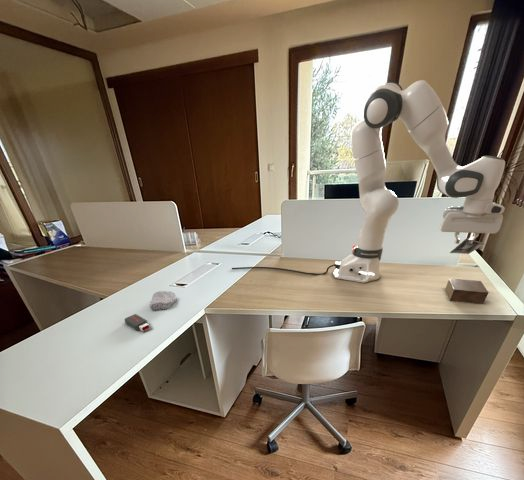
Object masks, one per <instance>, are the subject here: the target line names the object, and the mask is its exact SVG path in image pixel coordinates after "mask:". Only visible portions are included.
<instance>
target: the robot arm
mask: <svg viewBox="0 0 524 480" xmlns="http://www.w3.org/2000/svg"><path fill="white" fill-rule="evenodd" d="M398 120H400V121H402V123H403V124H404V126H405V128H406V129H407V132H408V133H409V135H410V137H411V138H412V140H413V141H414V142H415V144H416V145H417V146H418V147H419V148H420V149H421V150H422V151H423V152H424V153H425V155H426V156H427V157H428V160H429V162H430V163H431V165H432V167H433V169H434V170H435V173H436V188H437V190H438V192H439V193H440V194H442V195H446V196H447V197H449V198H451V199H457V198H465V199H464V202H463V205H462V206H449V207H446V208H445V210H444V211H443V214H442V220H441V221H440V222H441V223H440V225H439V231H440V232H441V233H453V235H454V242H453V243H454V244H457V245H459V244H460V243H461V238H459V237H458V236H460V233H466V234H467V233H468V234H473V236H471V238H467V239H468V241H467V244H472V243H473V241H475V240H476V239H477V238H478V237H479V236H480V234H497V233H498V232H499V231H500V230H501V227H502V224H503V221H504V215H503V213H504V212H505V211H506V210H505V209H506V208H505V206H503V205H501V204H499V203H497V202H493V201H494V200H495V193H496V190H497V189H498V187H499V185H500V183H501V181H502V177H503V175H504V171H505V167H506V161H505V159H504V158H503V157H500V156H494V155H493V156H492V155H483V156H481V158H478V159H477V160H475V161H473V162H471V163H469V164H467V165H464V166H461V165H459V164H458V163H456V161H455V160H454V158H453V156H452V154H451V152H450V149H449V147H448V145H447V142H446V135H447V130H448V128H449V120H448V116H447V112H446V110H445V108H444V106H443V103H442V101H441V99H440V97H439V96H438V94H437V93H436V91H435V90H434V89H433V87H432V86H431V85H430V84H429V83H428V82H427V80H424V79H419V80H417V81H415V82H413V83H412V84H410V85H409V86H408V87H406V88H405V89H403V88H402V86H401V84H399V82H397V81H387V82H385V83H383V84H381V85H380V86H377V88H375V90H374V91H373V92H372V93H371V94H370V95H369V96H368V97H367V100H366V101H365V104H364V107H363V119H361V120H359V121H358V122H356V123H355V125H354V126H353V127H352V129H351V133H350V142H351V143H350V144H351V151H352V152H351V153H352V157H353V162H354V166H355V170H356V176H357V180H358V192H359V193H358V194H359V204H360V206H361V209H362V210H363V211H364V212H365V213H366V215H365V219H364V222H363V224H362V226H361V227H360V230H359V236H358V242H357V244H353V245H352V252H351V254H349V255H348V256H347V257H345V258H343V259H342V260H341V261H335V263H333V264H331V265H329V266H328V267H327V268H326V271H324V272H323V273H318V272H317V273H316V272H307V271H301V270H295V269H289V268H282V267H272V266H242V267H231V270H241V269H242V270H244V269H247V270H248V269H270V270H271V269H272V270H280V271H287V272H292V273H300V274H302V275H303V274H304V275H311V276H313V275H314V276H321V275H326V274H327V273H328V272H329V269H330V268H333V267H334V271H333V277H334V278H335V279H339V280H345V281H351V282H356V283H357V282H358V283H363V284H365V283H369V282H372V281H376V280H378V279H379V278H380V277H381V275H380V262H381V259H382V256H383V252H384V251H383V245H384V239H385V235H386V232H387V228H388V226H389V223H390V221H391V219H392V217H393V216H394V215H395V214H396V212H397V210H398V208H399V203H400V202H399V198H398V195H396V194H395V192H394V191H392V190H391V189H388V188H387V187H386V171H387V163H386V158H385V152H384V145H383V141H382V129H383V128H384V127H386V126H387V125H389V124H391V123H394V122H396V121H398Z"/></svg>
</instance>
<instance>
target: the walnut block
mask: <svg viewBox="0 0 524 480" xmlns="http://www.w3.org/2000/svg"><path fill="white" fill-rule="evenodd" d="M444 289H445V292H446V295H447V297H448V300H449V301H450V302H458V303H468V304H480V305H485V304H484V303H485V301H486V299H487V298H488V295H489V293H490V292H489V291H488V290H487V288H486V286H485V285H484V284H483V282H482V280H473V279H459V278H448V281H447V283H446V286H445V288H444Z"/></svg>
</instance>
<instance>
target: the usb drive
mask: <svg viewBox="0 0 524 480" xmlns="http://www.w3.org/2000/svg"><path fill="white" fill-rule="evenodd" d="M124 323H125V324H126V325H127V326H128V327H130V328H132V329H133V330H135V331H137V332H140V331H141V332H143V333H144V332H146V331H147V330H150V329H151V326H150V324H149V323H148V319H145V318H143V317H142V316H140V315H138V314H136V313H135V314H132V315H130V316H127V317H125V318H124Z"/></svg>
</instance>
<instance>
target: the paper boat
mask: <svg viewBox="0 0 524 480" xmlns="http://www.w3.org/2000/svg"><path fill="white" fill-rule="evenodd" d="M468 239H469V238H465V239H464V240H463V241H462V242H459V244H457V246H456V247H455V248H453V249H452V250H451V251H450V252H449V254H463V255H470V254H471V253H472V252H475V251H476V250H478V249H479V248H480V247H483V246H484V245H485V243H483V242H481V241H477V240H473V243H472V244H467V241H468Z"/></svg>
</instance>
